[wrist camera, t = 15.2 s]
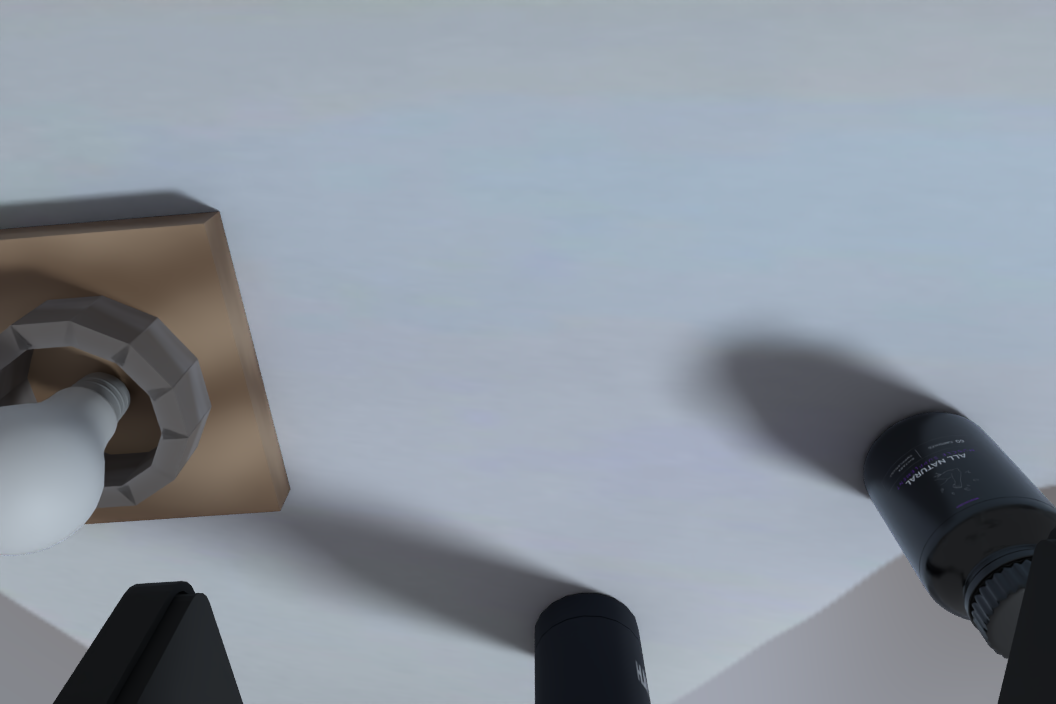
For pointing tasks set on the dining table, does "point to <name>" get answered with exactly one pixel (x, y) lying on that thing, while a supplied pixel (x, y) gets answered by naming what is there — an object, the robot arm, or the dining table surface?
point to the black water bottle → (589, 653)
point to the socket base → (195, 313)
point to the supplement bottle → (960, 517)
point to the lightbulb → (55, 462)
